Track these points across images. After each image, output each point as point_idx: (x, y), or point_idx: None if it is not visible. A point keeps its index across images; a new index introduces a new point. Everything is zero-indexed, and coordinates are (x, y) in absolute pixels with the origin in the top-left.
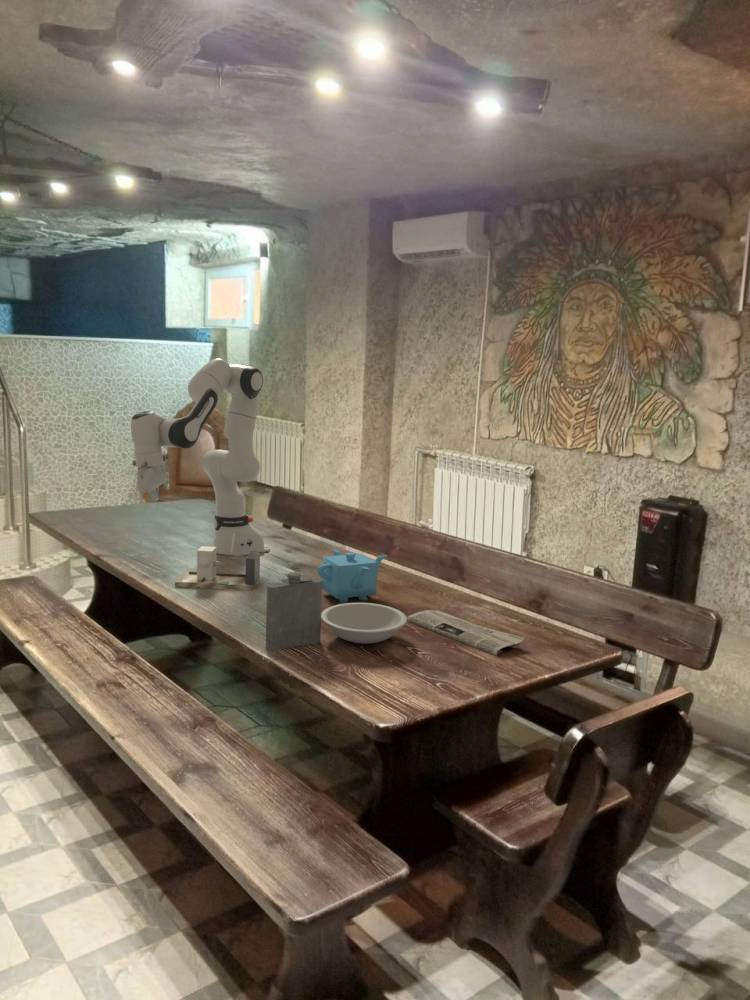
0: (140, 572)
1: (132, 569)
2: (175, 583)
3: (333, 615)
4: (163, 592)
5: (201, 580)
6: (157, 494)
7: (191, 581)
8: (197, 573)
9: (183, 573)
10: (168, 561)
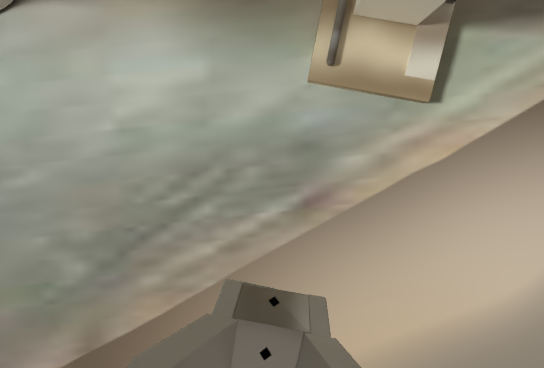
0: (263, 224)
1: (231, 250)
2: (427, 100)
3: None
4: (482, 133)
5: None
6: (232, 325)
7: (433, 44)
8: (427, 15)
9: (325, 83)
10: (136, 152)
